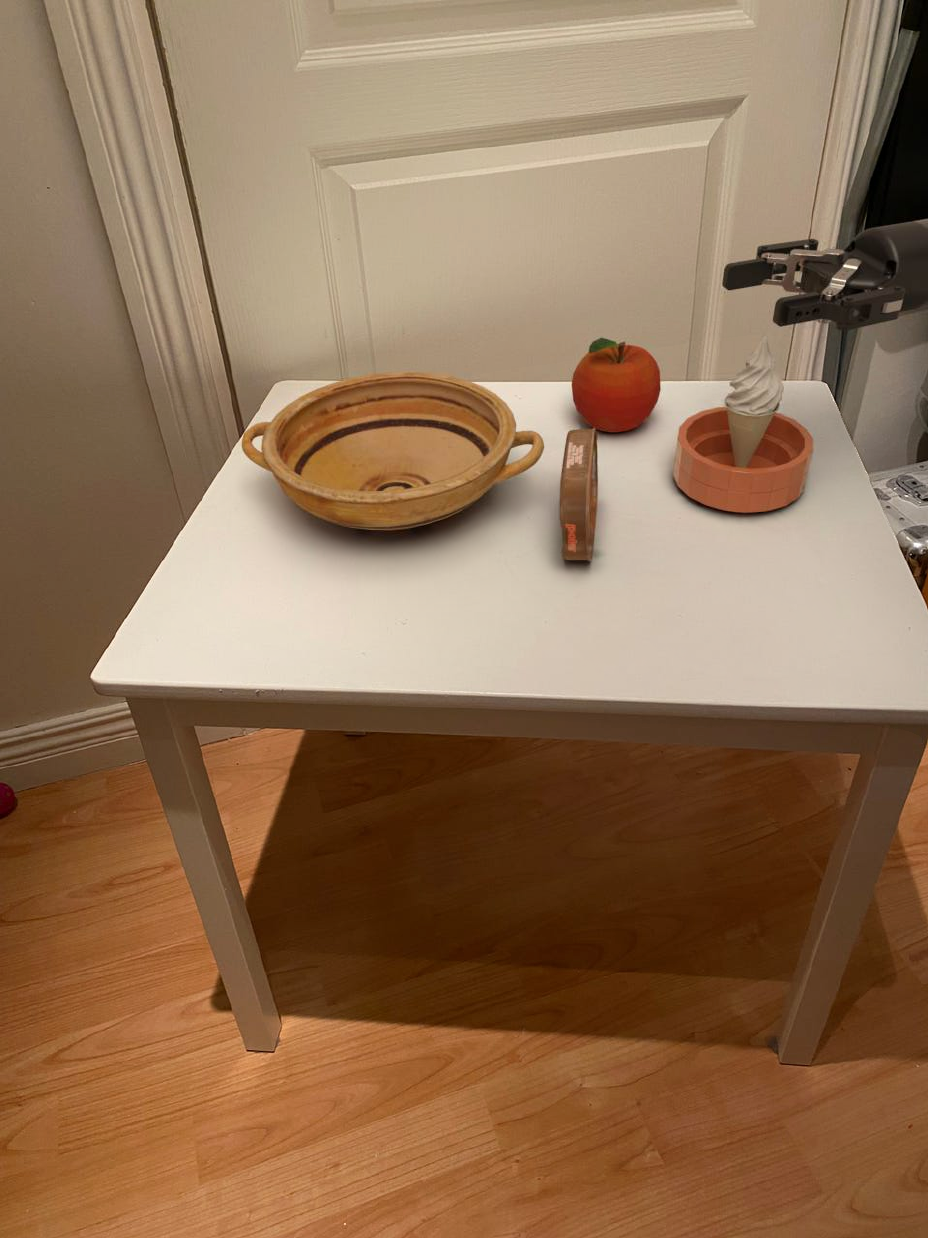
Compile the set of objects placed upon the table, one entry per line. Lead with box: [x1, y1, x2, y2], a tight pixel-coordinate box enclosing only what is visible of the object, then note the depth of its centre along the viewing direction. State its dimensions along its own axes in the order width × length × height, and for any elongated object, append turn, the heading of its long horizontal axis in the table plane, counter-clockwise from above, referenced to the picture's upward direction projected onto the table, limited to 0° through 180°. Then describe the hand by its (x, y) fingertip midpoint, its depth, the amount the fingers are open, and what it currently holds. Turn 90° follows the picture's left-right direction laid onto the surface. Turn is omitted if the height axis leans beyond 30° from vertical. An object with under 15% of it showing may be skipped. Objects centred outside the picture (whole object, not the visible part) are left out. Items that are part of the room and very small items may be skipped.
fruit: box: [571, 337, 662, 433], centre depth 100 cm, size 10×10×10 cm
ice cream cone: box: [723, 331, 785, 468], centre depth 88 cm, size 5×5×15 cm
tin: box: [558, 427, 599, 562], centre depth 86 cm, size 15×3×8 cm, turn 171°
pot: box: [672, 406, 814, 514], centre depth 92 cm, size 13×13×5 cm
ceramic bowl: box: [241, 371, 545, 531], centre depth 91 cm, size 30×24×8 cm
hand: (749, 294), depth 80 cm, fingers open, 8 cm apart
